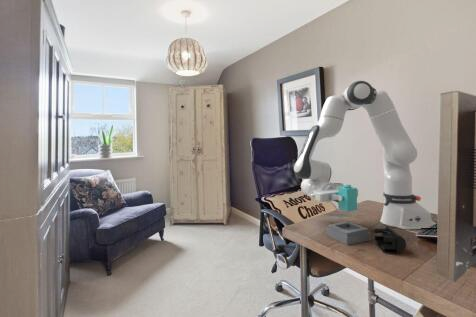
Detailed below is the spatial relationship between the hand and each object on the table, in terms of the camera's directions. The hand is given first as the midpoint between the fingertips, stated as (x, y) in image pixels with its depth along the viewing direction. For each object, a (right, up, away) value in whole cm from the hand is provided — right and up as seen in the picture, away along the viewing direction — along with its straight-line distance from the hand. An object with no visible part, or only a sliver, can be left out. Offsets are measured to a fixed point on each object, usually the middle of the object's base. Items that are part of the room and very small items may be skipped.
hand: (349, 197), depth 106 cm
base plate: (0, -17, +2) cm, 17 cm away
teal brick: (0, -5, +1) cm, 5 cm away
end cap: (+11, -18, -10) cm, 23 cm away
